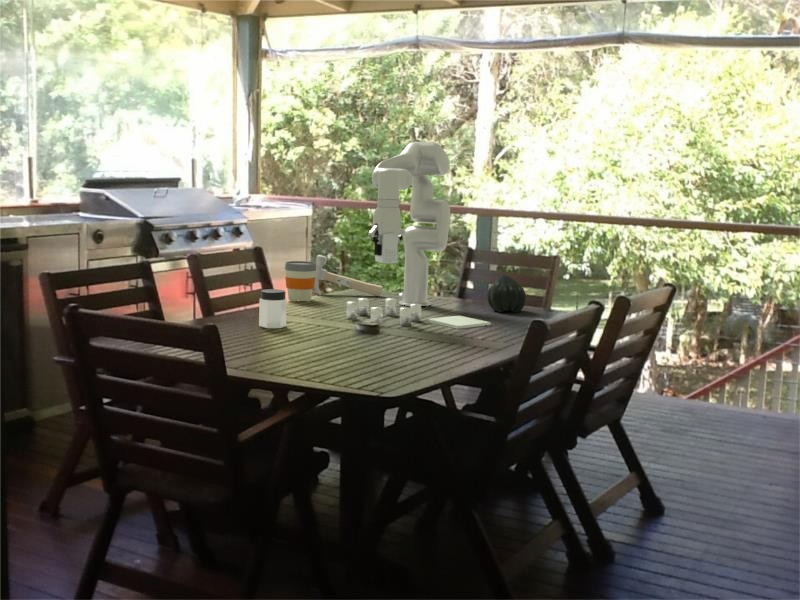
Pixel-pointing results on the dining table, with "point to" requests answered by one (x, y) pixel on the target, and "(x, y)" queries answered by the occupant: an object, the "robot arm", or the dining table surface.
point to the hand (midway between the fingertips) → (386, 254)
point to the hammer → (342, 279)
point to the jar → (272, 308)
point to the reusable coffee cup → (300, 280)
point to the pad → (458, 322)
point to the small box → (388, 249)
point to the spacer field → (390, 310)
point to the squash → (506, 295)
